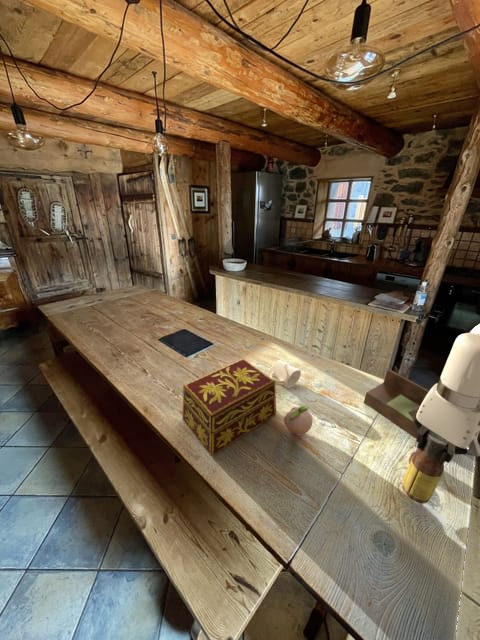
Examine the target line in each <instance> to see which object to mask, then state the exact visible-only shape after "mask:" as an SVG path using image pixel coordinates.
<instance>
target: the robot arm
mask: <svg viewBox="0 0 480 640" xmlns="http://www.w3.org/2000/svg"><path fill="white" fill-rule="evenodd" d="M438 379H439V380H438V381H437V383H435V384H434V385H432V387H431V388H430V389H429V392H428V394H427V395H426V397H425V399H424V400H423V402H422V404H421V406H420V407H418V408H415V409H412V410H411V411H409V412H408V413H409V415H410V416H411V418H412V419H413V420H414V423H415V424H416V426H417V428H418V433H419V436H418V438H417V439H416V443H417V445H416V449H417V448H418V449H421V448H422V447H423V446H424V444H425V442H426V440H427V435H428V433H429V429H430V430H431V431H433V432H435V433H436V434H438V435H439V436H441V437H442V438H444V439H446V440H447V441H449V443H448V448H446V449H445V450H444V452H443V453H442V456H441V458H440V460H439V464H441V465H442V464H443V463H447V464H449V463H450V462H451V461H452V459H453V458H454V456H455V455H468V456H472V457H476V458H479V457H480V444H479V441H478V439H477V437H478V435H479V433H480V323H479V324H478V325H476V326H475V327H473V328H472V329H471V330H470V331H469V332H465V333H461V334H460V335H458V336H457V337H456V338H455V341H454V342H453V345H452V348H451V350H450V353H449V355H448V357H447V360H446V362H445V364H444V367H443V369H442V372H441V375H440V377H439V378H438Z"/></svg>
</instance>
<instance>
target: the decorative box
mask: <svg viewBox="0 0 480 640" xmlns="http://www.w3.org/2000/svg"><path fill="white" fill-rule="evenodd" d="M276 394H277V393H276V384H275V381H274V380H273V379H271V378H270V376H269V375H267V374H266V373H265V372H263V371H261V370H260V369H259V368H257V367H256V366H255V365H253V364H251V363H250V362H249V361H247V360H246V359H245V358H241V359H239V360H237V361H235V362H232V363H230V364H228V365H225V366H223V367H220V368H218V369H217V370H214V371H211V372H209V373H207V374H205V375H203V376H200V377H198V378H196V379H193V380H191V381H189V382H187V383H185V384H183V387H182V413H181V414H182V415H181V417H182V418H181V419H182V420H183V422H184V423H185V424H186V426H187V427H188V428H189V429H190V431H191V432H192V433H193V435H194V436H195V437H196V439H197V440H198V441H199V443H200V444H201V445H202V446H203V448H204V449H205V450H206V452H207V453H208V454H209V456H211V457H213V456H214V455H216V454H218V453H220V452H221V451H222V450H224V449H226V448H227V447H229V446H231V444H232V445H233V443H234V442H236V441H238V440H239V439H241V438H242V437H245V435H247V434H248V433H250V432H252V431H253V430H255V429H256V428H258V427H259V426H261V425H262V424H264V423H265V422H267V421H268V420H270V419H271V418H273V417H274V416H276V414H277V397H276Z"/></svg>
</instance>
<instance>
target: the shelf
mask: <svg viewBox="0 0 480 640" xmlns="http://www.w3.org/2000/svg"><path fill="white" fill-rule="evenodd" d="M429 391H430V389H427V388H425V387H423V386H421V385H420V384H418V383H416V382H414V381H413V380H411V379H409V378H407V377H405V376H403V375H402V374H399V373H398V372H395V371H394V370H392V369H390V368H389V369H387V370H386V373H385V376H384V379H383V382H382V383H380V384H378V385H376V386H375V387H372V388H371V389H370V390H368V391H366V392H365V396H364V399H363V403H364V404H365V405H367V406H368V407H370V408H371V409H372V410H374V411H375V412H377V413H378V414H380V415H381V416H383V418H386V420H388V421H390V422H391V423H393V424H394V425H396V426H397V427H399V428H400V429H401V430H403V431H404V432H405V433H407V434H408V435H410V436H411V437H413V438H414V439H416V440H417V438H418V436H419V433H418V428H417V426H416V424H415V423H414V420H413V419H412V418H411V416H410V415H409V413H408V412H409V411H411V410H412V409H415V408H418V407H420V406H421V404H422V402H423V400H424V399H425V397H426V395H427V394H428V392H429ZM429 431H431V430H430V429H429Z"/></svg>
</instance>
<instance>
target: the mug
mask: <svg viewBox="0 0 480 640" xmlns="http://www.w3.org/2000/svg"><path fill="white" fill-rule="evenodd" d="M301 376H302V371H301V370H300V369H299V368H296V367H294V366H292V365H291V364H290V363H287V362H285V361H283V360H281V359H278V360H276V361H275V362H274V363H273V364H272V365H271V368H270V370H269V377H270V378H271V379H273V380H274V381H275V385H279V386H283V387H285V388H287V389H291V388H292V387H295V385H297V383H298V382H299V380H300V378H301Z"/></svg>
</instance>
